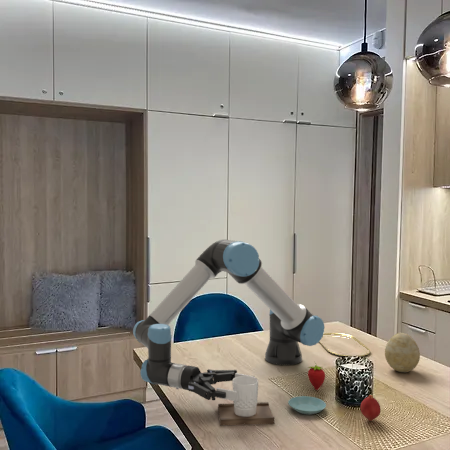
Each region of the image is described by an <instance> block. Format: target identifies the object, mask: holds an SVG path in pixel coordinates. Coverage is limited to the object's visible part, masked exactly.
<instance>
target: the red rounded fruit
mask: <svg viewBox="0 0 450 450" xmlns="http://www.w3.org/2000/svg"><path fill="white" fill-rule="evenodd" d="M359 409H360V412H361V414H362V416H364V418H366V419H367V420H368V421H369V422H372V421H374V420H376V418H378V417H379V416H380V414H381V405H380V403H379V401H378V400H377V399H376V398H374V397H373V395H372V394H369V395H368V396H367V397H364V399H363V400H362V401H361V403H360V408H359Z"/></svg>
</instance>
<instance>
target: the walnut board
mask: <svg viewBox="0 0 450 450" xmlns="http://www.w3.org/2000/svg"><path fill="white" fill-rule="evenodd" d="M217 410H218V416H219V417H218V419H219V424H220V426H245V425H246V426H247V425H249V426H250V425H273V424H274V425H275V420H276V419H275V416H274V415H273V413H272V410H271V407H270V402H268V401H267V402H266V401H265V402H257V411H256V414H255V415H253V416H250V417H241V416H238V415H236V414H235V412H234V402H231V403H218V405H217Z"/></svg>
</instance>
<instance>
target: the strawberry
mask: <svg viewBox="0 0 450 450" xmlns="http://www.w3.org/2000/svg"><path fill="white" fill-rule="evenodd" d="M314 364H315V365H314V366H308V367H307V368H309V369H308V371H307V378H308V381H309V382H310V383H311V384H310V385H312V387H313V388H314V390H316V391H318V390H320V388H321V387H322V386H323V384H324V382H325V380H326V373H325V371H324V369H323V366H318V365H317V363H316V362H314Z"/></svg>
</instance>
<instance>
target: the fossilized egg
mask: <svg viewBox="0 0 450 450" xmlns="http://www.w3.org/2000/svg"><path fill="white" fill-rule="evenodd" d="M384 356H385V360H386V363H388V365H389V367H391V369H392V370H394V371H397V372H399V373H408V372H411V371H413V370H414V369H416V367H417V366H418V364H419V363H420V361H421V360H420V359H421V353H420V349H419V345H418V344H417V342H416V341H415V339H414V338H413V337H412V336H410V335H409V334H408V333H406V332H398V333H395V334H394V335H392V336H391V337H390V339H389V340H388V341H387V342H386V345H385V348H384Z"/></svg>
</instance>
